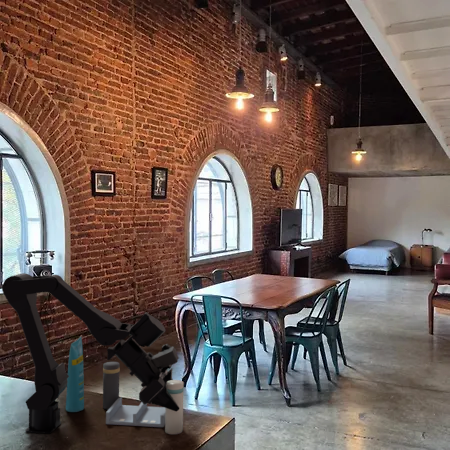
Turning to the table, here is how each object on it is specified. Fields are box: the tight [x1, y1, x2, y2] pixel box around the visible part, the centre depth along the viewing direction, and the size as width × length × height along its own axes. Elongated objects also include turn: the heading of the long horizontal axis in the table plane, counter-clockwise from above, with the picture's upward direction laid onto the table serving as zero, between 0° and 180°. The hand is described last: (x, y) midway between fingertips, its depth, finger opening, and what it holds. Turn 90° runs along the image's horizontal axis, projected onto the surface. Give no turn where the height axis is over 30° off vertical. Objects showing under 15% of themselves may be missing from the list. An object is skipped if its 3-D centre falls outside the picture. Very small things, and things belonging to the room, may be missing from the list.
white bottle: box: [164, 379, 185, 435], centre depth 124 cm, size 4×4×12 cm
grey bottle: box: [102, 361, 121, 411], centre depth 139 cm, size 4×4×12 cm
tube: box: [65, 336, 85, 413], centre depth 137 cm, size 7×5×19 cm, turn 2°
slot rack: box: [105, 396, 165, 428], centre depth 132 cm, size 15×11×3 cm
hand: (179, 404), depth 124 cm, fingers open, 7 cm apart
